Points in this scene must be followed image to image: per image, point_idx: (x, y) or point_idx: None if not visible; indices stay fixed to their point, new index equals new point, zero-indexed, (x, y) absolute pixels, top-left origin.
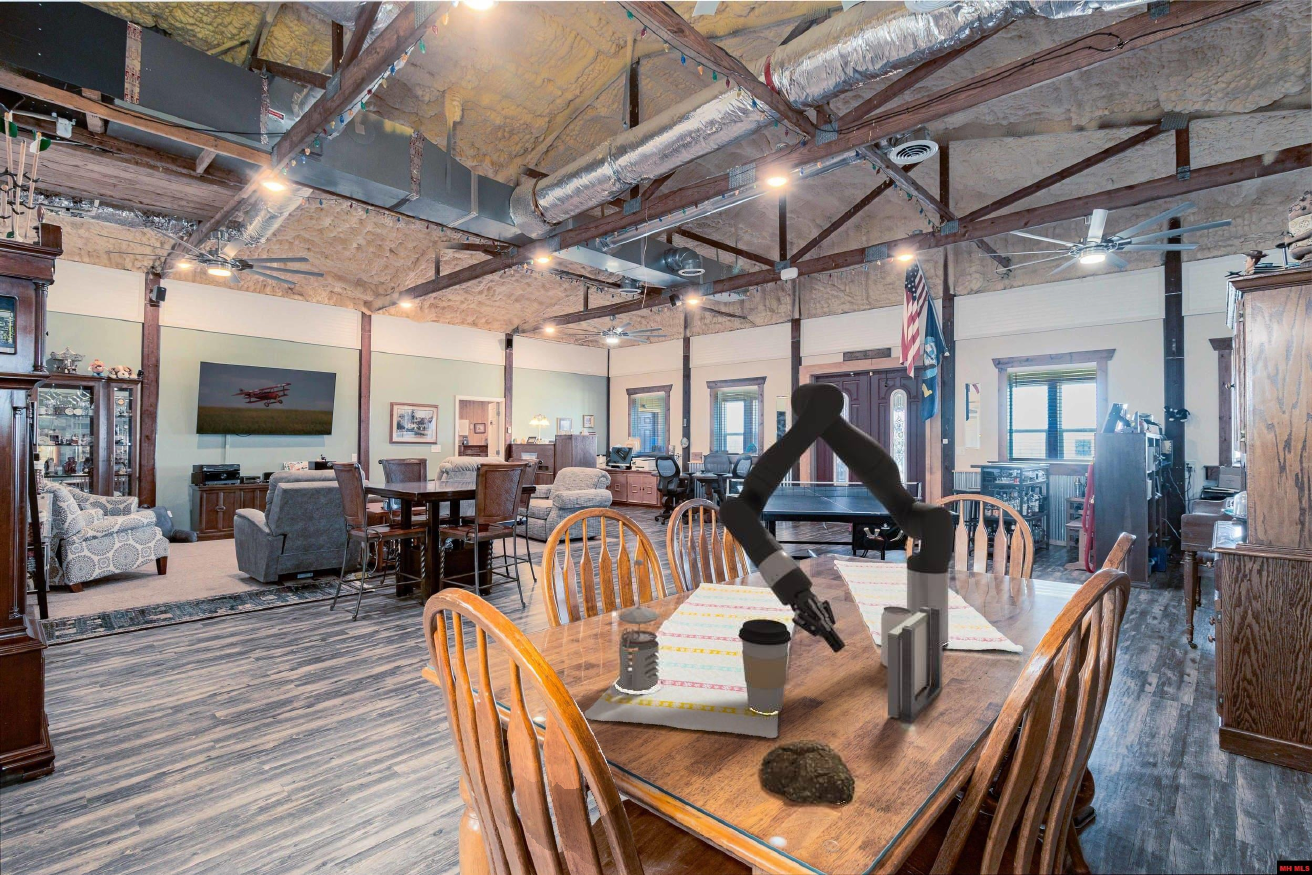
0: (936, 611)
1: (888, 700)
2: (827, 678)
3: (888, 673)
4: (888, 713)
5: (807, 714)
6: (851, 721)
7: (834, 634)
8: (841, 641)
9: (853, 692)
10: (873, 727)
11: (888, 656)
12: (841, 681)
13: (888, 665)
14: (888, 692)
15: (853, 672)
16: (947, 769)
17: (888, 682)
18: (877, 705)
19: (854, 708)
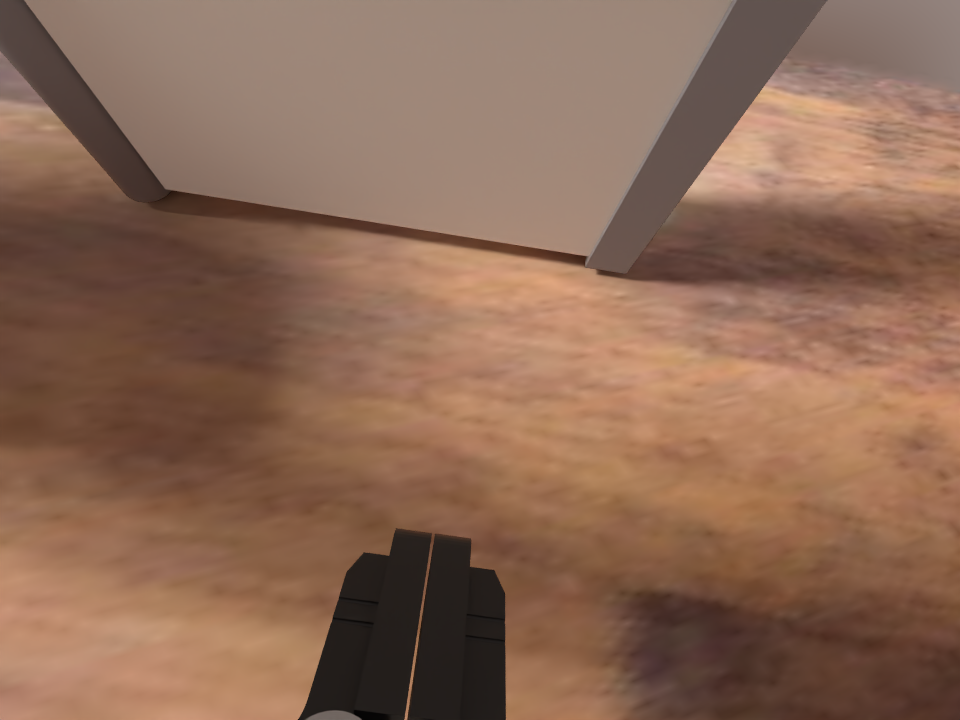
0: None
1: (649, 237)
2: (276, 693)
3: (715, 147)
4: (627, 267)
5: (828, 618)
6: (753, 407)
7: (430, 656)
8: (412, 563)
9: (416, 483)
10: (744, 314)
11: (780, 58)
12: (284, 592)
13: (742, 110)
14: (665, 215)
15: (87, 567)
16: (863, 73)
17: (689, 182)
18: (512, 341)
19: (612, 428)
